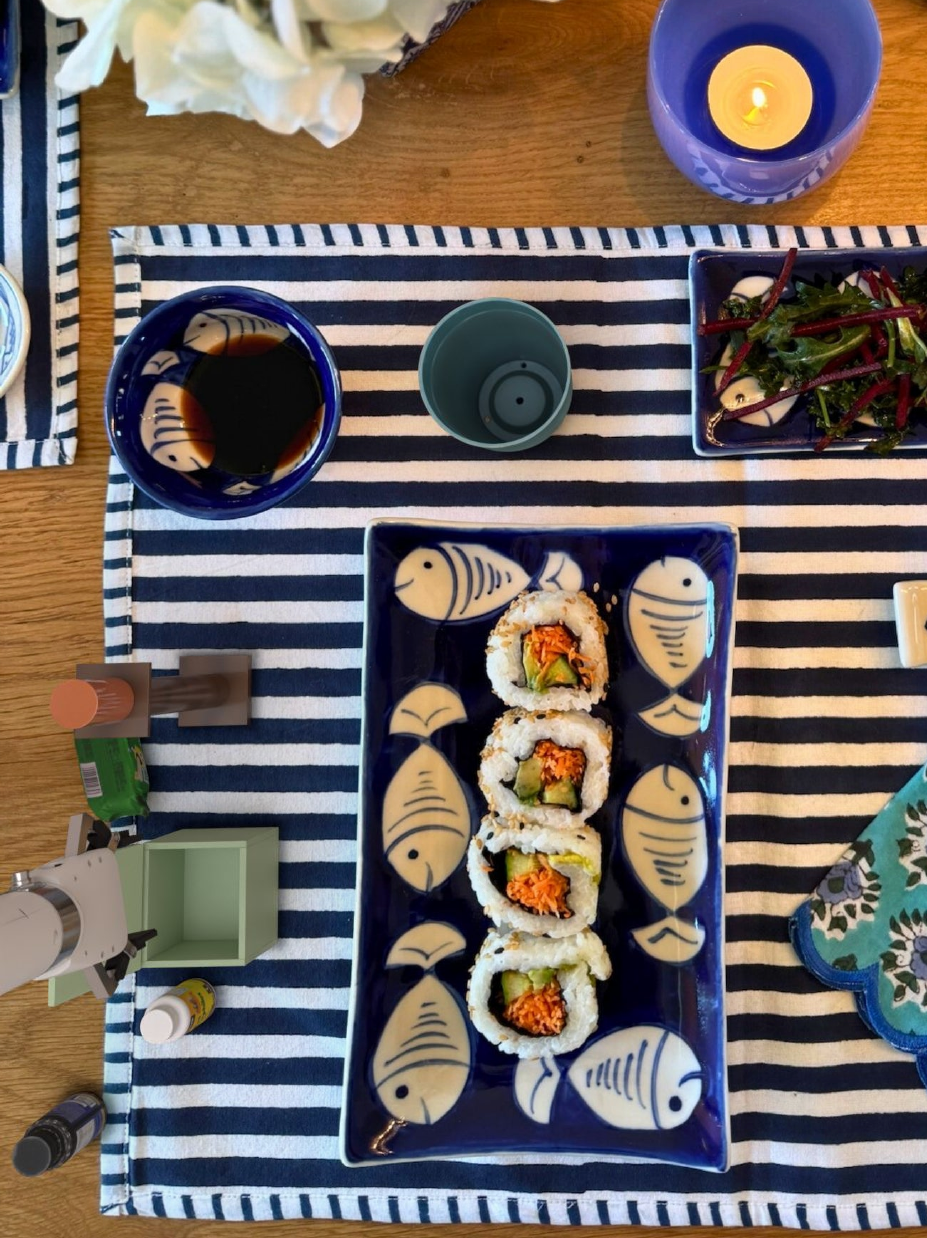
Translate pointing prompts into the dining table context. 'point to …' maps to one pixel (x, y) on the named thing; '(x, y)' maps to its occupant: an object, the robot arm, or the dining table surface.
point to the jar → (91, 702)
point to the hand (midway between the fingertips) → (136, 886)
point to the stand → (178, 694)
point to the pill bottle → (59, 1134)
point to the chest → (210, 896)
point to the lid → (132, 898)
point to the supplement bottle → (178, 1011)
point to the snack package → (113, 776)
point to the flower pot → (496, 374)
